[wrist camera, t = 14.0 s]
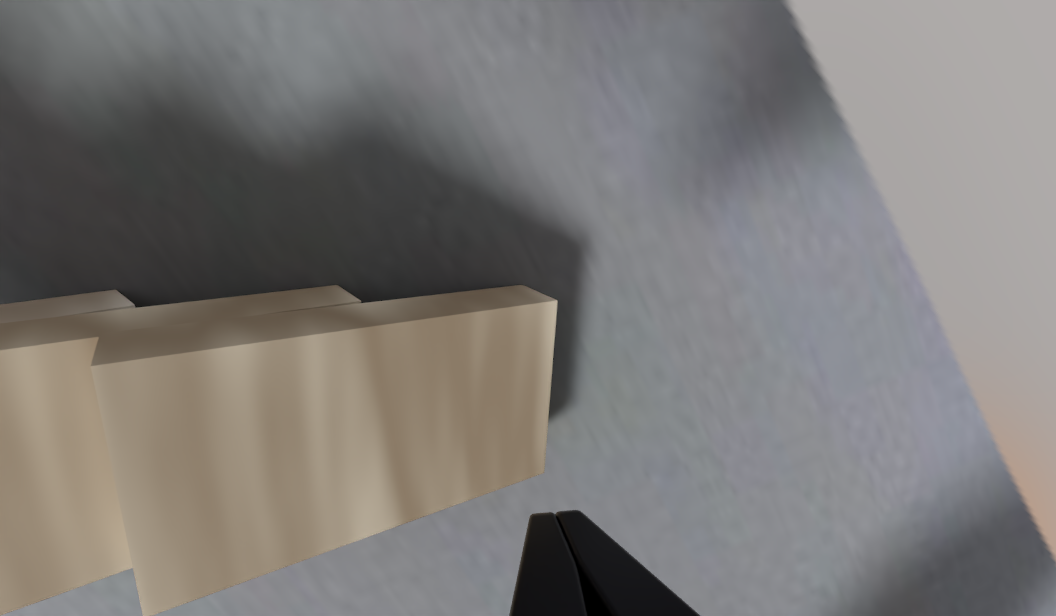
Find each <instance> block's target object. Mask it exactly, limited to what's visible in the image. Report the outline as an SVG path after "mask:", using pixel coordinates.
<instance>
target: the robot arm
mask: <svg viewBox="0 0 1056 616" xmlns="http://www.w3.org/2000/svg"><path fill="white" fill-rule="evenodd" d="M509 616H700V615H699V614H698V613H697V612H695V611H694V610H693V609H692V608H691V607H690V606H689V605H687V604H686V603H685V602H684V601H683V600H682V599H681V598H679V597H678V596H677V595H676V594H675V593H674V592H673V591H671V590H670V589H669V588H668V587H667V586H666V585H665V584H663V583H662V582H661V581H660V580H659V579H658V578H656V577H655V576H654V575H653V574H652V573H651V572H650V571H648V570H647V569H646V568H645V567H644V566H643V565H642V564H640V563H639V562H638V561H637V560H636V559H635V558H634V557H632V556H631V555H630V554H629V553H628V552H627V551H626V550H624V549H623V548H622V547H621V546H620V545H619V544H618V543H616V542H615V541H614V540H613V539H612V538H611V537H610V536H608V535H607V534H606V533H605V532H604V531H603V530H602V529H600V528H599V527H598V526H597V525H596V524H595V523H594V522H592V521H591V520H590V519H589V518H588V517H587V516H586V515H584V514H583V513H582V512H581V511H578V510H570V511H559V512H557V513H556V514H554V513H552V512H548V513H536V514H532V515H531V516H530V518H529V523H528V528H527V533H526V538H525V542H524V547H523V552H522V557H521V562H520V566H519V571H518V576H517V581H516V586H515V591H514V595H513V600H512V605H511V610H510V615H509Z"/></svg>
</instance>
